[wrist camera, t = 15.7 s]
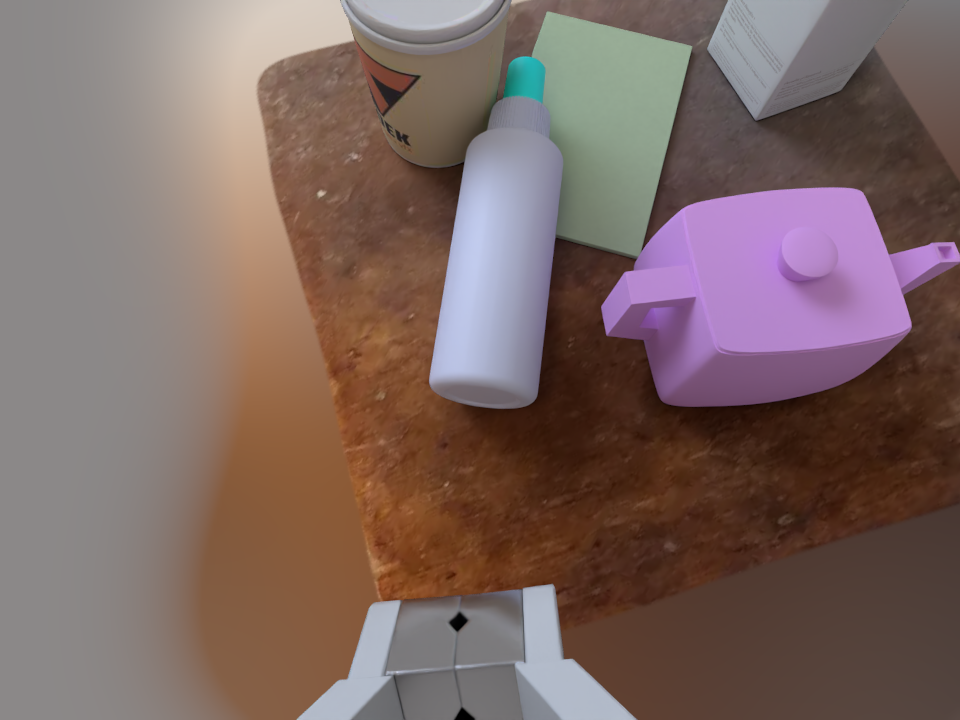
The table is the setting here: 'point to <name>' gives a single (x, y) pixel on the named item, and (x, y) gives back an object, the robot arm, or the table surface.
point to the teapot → (768, 296)
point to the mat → (608, 125)
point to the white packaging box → (795, 47)
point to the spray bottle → (501, 253)
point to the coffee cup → (431, 71)
